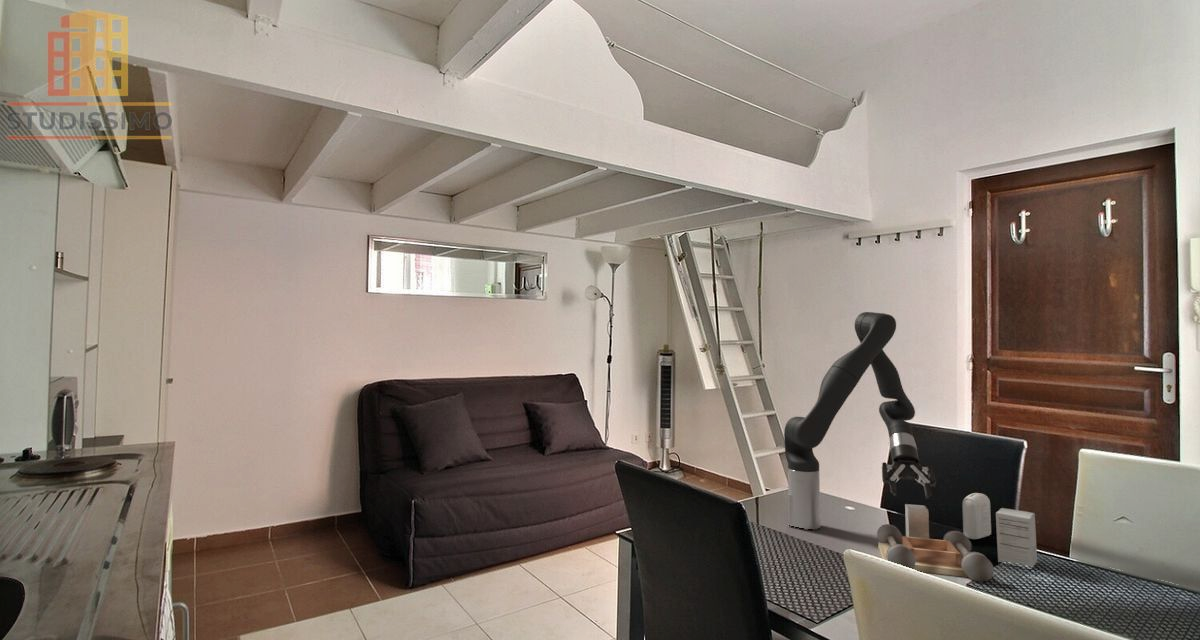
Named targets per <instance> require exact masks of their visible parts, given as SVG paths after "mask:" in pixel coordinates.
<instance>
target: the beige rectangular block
mask: <svg viewBox="0 0 1200 640" xmlns="http://www.w3.org/2000/svg"><path fill="white" fill-rule="evenodd" d="M904 509H905V510H904V511H905V513H904V514H905V536H908V537H918V538H928V539H930V523H929V522H930V520H929V519H930V517H929V516H930V515H929V509H928V508H927V506H926V505H922V504H908V503H905V504H904Z"/></svg>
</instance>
